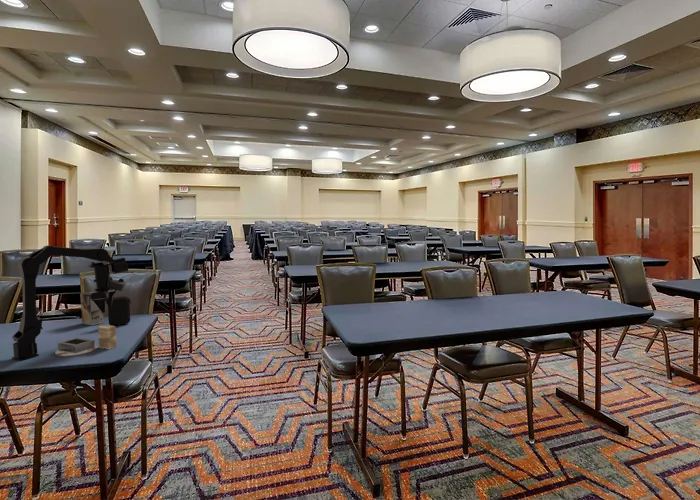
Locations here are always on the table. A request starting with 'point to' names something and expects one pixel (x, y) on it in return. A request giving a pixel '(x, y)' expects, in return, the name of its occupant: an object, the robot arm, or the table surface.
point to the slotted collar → (75, 347)
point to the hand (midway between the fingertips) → (107, 309)
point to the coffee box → (90, 310)
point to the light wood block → (107, 336)
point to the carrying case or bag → (119, 311)
